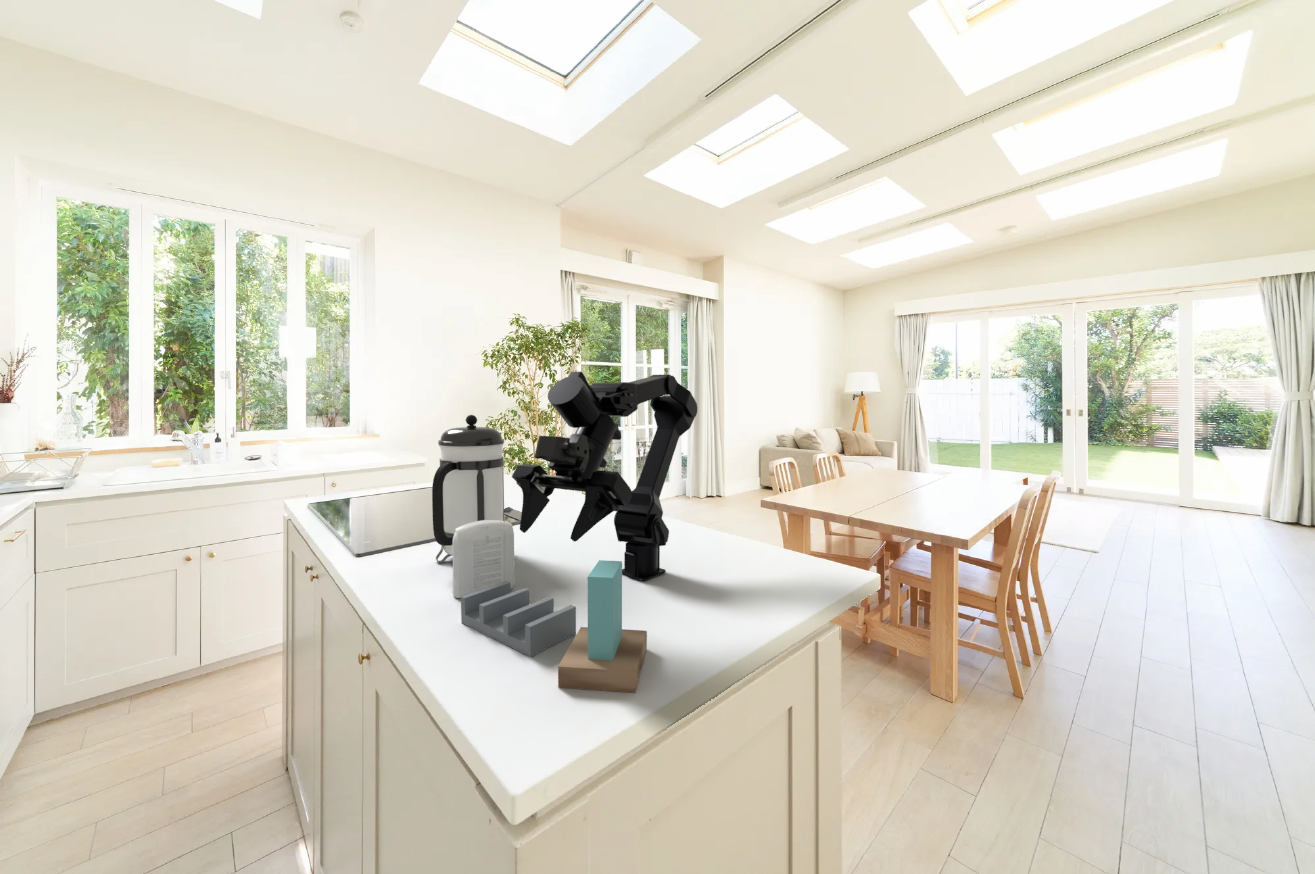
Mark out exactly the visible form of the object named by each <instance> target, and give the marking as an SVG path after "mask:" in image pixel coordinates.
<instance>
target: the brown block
mask: <svg viewBox="0 0 1315 874" xmlns="http://www.w3.org/2000/svg"><path fill="white" fill-rule="evenodd" d="M647 633H648V631H647V630H643V629H642V630H641V629H623V628H622V638H621V640H620V643H619V646H618V648H617V651H616V654H615V656H614V659H613V661H610V660H594V659H588V626H580V628H579V629H578V632H576V634H575V635H574V636H575V637H574V638H573V640H572V642H571V643H570V645H569V647H568V648H567V650H566V652H565V654H564V655H563V657H562V658H561V661H560V662H559V664H558V666H557V679H558V681H557V683H558V684H557V687H558V688H561V689H562V688H563V689H564V688H565V689H577V690H579V689H580V690H588V691H589V690H591V691H604V692H617V693H618V692H619V693H620V692H621V693H631V692H634V693H633V694H636V691H637V688H638V683H639V680H640V676H641V672H642V668H643V665H644V661H645V656H646V653H647V649H648V647H647V646H648V642H647V641H648V639H647V638H648V636H647V635H648V634H647Z"/></svg>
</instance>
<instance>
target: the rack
mask: <svg viewBox="0 0 1315 874" xmlns="http://www.w3.org/2000/svg"><path fill="white" fill-rule="evenodd" d="M511 591H512V588H511V582H508V581H505V582H502V583H499V584H496V585H493V586H490V587H488V588H485V589H482V590H479V591H476V592H473V593H470V594H467V595H464V596H461V598H460V615H461V618H460V620H461V624H463V625H465V626H467V627H469V628H471V629H473V630H475V631H477V632H479V633H481V634H484V635H485V636H487V637H489V638H491V639H493V640H495V641H497V642H499V643H501V644H503V645H506V646H508V647H509V648H512V649H514V650H515V651H517V652H520V653H521V654H524V655H525V656H527V657H528V658H531V657H534V656H536V655H537V654H539V653H542V652H543V651H546V650H547V649H549V648H551V647H554V646H555V645H557V644H559V643H561V642H563V641H565V640H567V639H569V638H570V637H573V636H576V635H577V611H576V610H577V607H576V605H572V604H569V605H568V606H566V607H563V608H560V609H558V610H555V609H554V607H555V606H554V604H555V603H554V602H555V599H554V597H552V596H551V597H550V596H547V597H545V598H543V599H542V598H541V599H540V600H538V601H535V602H533V603H530V589H529V588H527V587H524V588H520V589H518V590H516V591H513V592H511Z"/></svg>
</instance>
